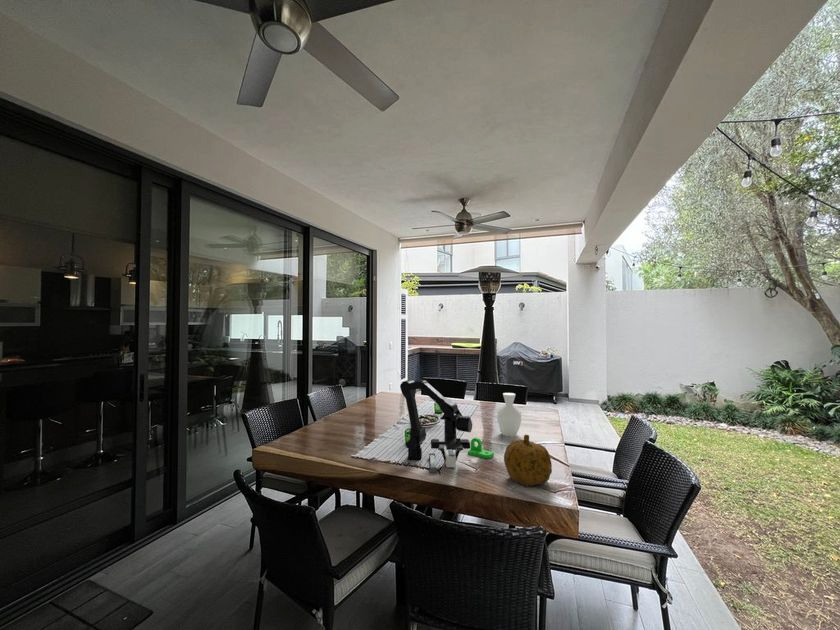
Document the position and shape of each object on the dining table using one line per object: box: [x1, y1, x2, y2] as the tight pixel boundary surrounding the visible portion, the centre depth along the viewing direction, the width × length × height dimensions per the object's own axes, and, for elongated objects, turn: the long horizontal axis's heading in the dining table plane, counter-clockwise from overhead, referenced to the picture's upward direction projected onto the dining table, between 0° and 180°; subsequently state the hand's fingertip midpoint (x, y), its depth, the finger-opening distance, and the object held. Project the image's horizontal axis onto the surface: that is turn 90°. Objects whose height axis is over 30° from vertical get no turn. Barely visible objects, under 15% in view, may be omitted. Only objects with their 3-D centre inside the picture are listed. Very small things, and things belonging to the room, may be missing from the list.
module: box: [444, 449, 457, 468], centre depth 170 cm, size 5×8×5 cm, turn 0°
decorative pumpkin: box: [503, 434, 553, 487], centre depth 154 cm, size 20×21×20 cm
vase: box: [496, 392, 522, 437], centre depth 218 cm, size 14×14×25 cm
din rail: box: [428, 452, 438, 475], centre depth 169 cm, size 3×18×3 cm, turn 0°
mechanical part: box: [467, 437, 495, 459], centre depth 184 cm, size 12×6×8 cm, turn 59°
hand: (450, 461), depth 170 cm, fingers closed on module, 5 cm apart
